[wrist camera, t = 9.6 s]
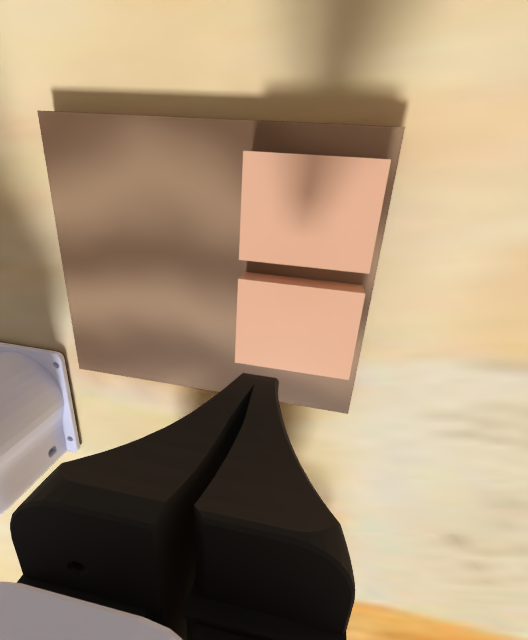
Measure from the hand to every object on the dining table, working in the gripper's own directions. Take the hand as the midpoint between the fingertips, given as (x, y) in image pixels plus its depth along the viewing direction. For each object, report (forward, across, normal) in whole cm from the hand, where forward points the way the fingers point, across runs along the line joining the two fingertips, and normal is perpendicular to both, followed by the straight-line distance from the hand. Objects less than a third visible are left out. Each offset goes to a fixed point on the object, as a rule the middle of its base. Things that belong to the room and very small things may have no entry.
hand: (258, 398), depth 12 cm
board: (+10, +5, -2) cm, 11 cm away
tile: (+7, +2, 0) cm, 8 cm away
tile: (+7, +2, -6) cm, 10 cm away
